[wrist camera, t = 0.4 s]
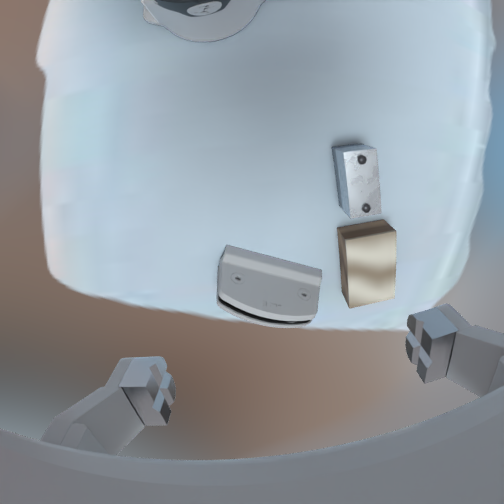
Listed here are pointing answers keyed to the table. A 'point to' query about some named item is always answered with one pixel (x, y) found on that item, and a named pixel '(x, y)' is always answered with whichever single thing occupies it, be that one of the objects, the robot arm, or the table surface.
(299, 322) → the hinge
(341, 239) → the stand
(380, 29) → the table surface
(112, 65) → the table surface
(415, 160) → the table surface
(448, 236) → the table surface
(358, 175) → the block
